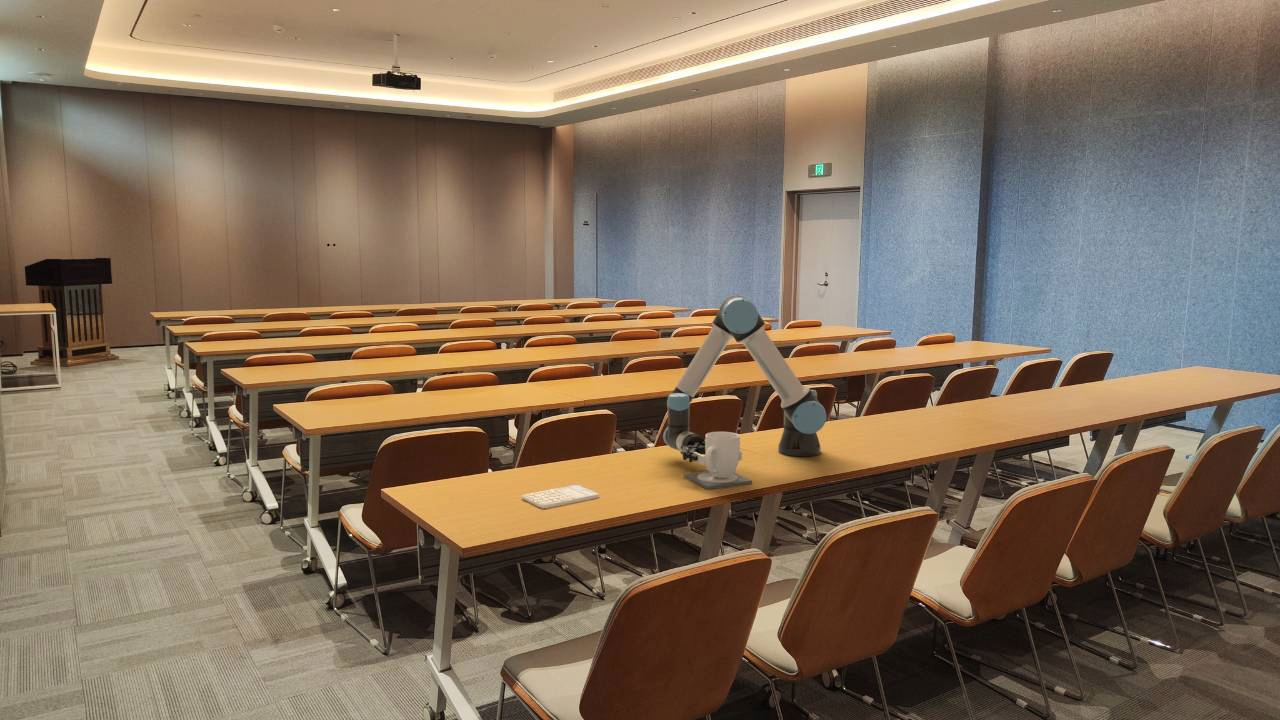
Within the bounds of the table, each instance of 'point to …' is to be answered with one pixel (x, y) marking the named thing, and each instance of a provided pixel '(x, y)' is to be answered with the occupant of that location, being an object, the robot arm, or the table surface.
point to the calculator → (560, 496)
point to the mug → (722, 453)
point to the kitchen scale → (716, 480)
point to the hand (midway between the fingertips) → (722, 458)
